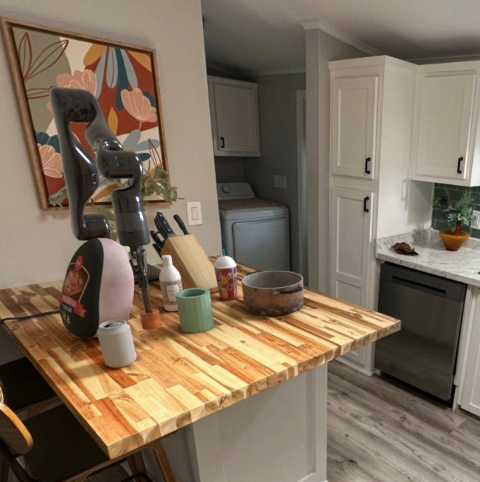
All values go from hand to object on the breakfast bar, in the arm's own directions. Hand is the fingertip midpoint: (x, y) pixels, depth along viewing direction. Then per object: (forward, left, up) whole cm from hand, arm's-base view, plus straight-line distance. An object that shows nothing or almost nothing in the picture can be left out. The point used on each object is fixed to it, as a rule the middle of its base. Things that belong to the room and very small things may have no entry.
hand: (143, 286), depth 120 cm
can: (-7, -12, -18) cm, 23 cm away
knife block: (+8, +54, -18) cm, 58 cm away
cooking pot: (+39, +20, -18) cm, 47 cm away
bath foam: (+4, +28, -18) cm, 34 cm away
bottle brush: (0, 0, -13) cm, 13 cm away
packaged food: (-15, +12, -18) cm, 26 cm away
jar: (+12, +8, -18) cm, 23 cm away
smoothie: (+23, +34, -18) cm, 45 cm away
